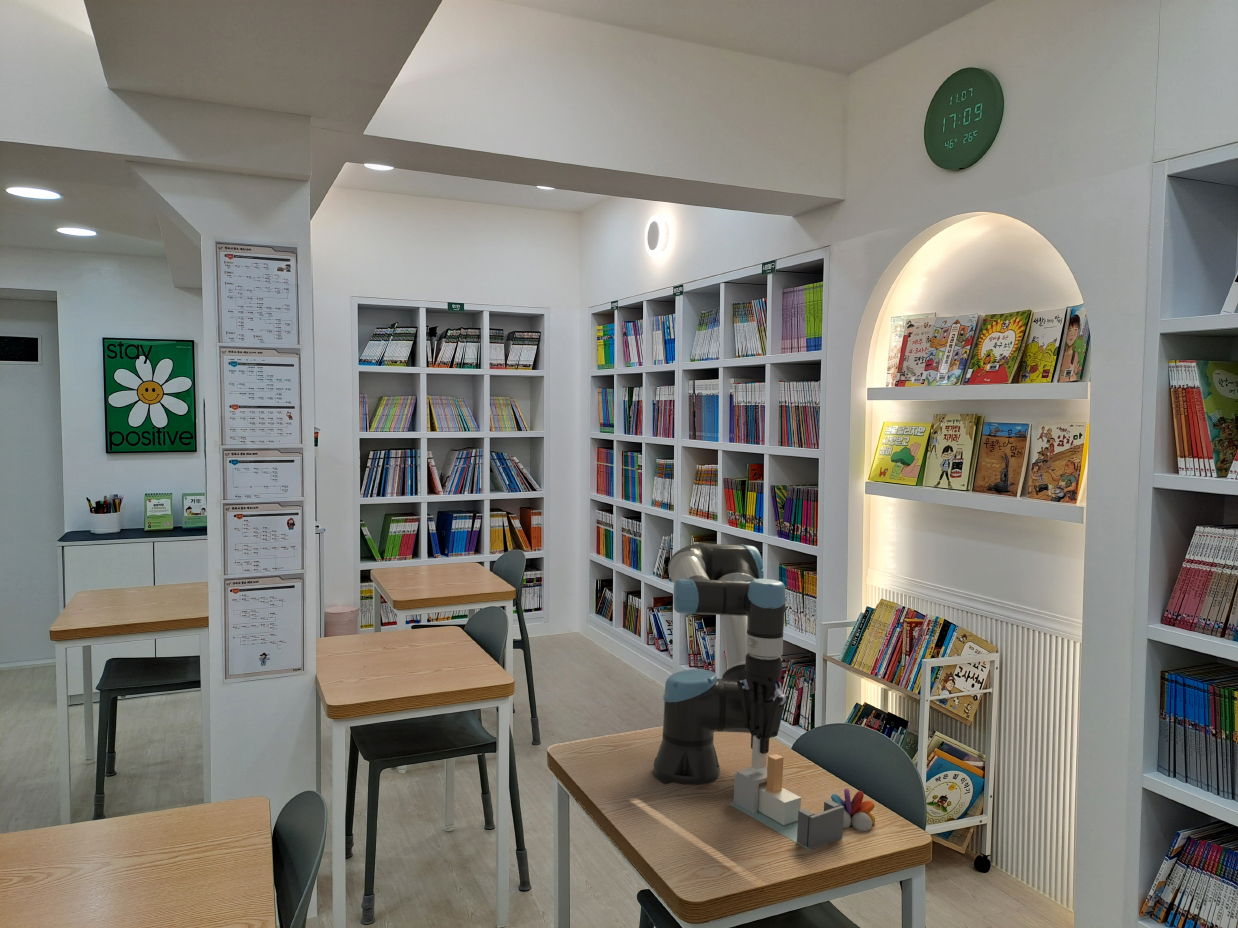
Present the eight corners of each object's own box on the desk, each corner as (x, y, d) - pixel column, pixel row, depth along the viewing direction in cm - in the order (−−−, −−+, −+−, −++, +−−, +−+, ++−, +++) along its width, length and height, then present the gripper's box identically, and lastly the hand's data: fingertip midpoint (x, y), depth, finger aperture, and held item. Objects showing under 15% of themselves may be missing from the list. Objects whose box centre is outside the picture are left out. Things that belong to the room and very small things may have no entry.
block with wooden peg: (741, 801, 174) (744, 747, 173) (757, 796, 176) (760, 743, 176) (783, 825, 164) (786, 767, 164) (799, 819, 167) (802, 763, 166)
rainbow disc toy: (876, 838, 163) (878, 801, 163) (826, 831, 165) (827, 795, 165) (872, 818, 171) (874, 784, 171) (824, 812, 173) (826, 778, 173)
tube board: (728, 808, 173) (730, 771, 173) (763, 797, 179) (764, 761, 179) (808, 854, 155) (810, 814, 155) (843, 841, 161) (846, 801, 161)
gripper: (729, 649, 175) (724, 759, 176) (773, 664, 164) (768, 781, 165) (755, 645, 179) (750, 752, 180) (800, 660, 169) (794, 774, 170)
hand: (758, 766), depth 173 cm, fingers closed
